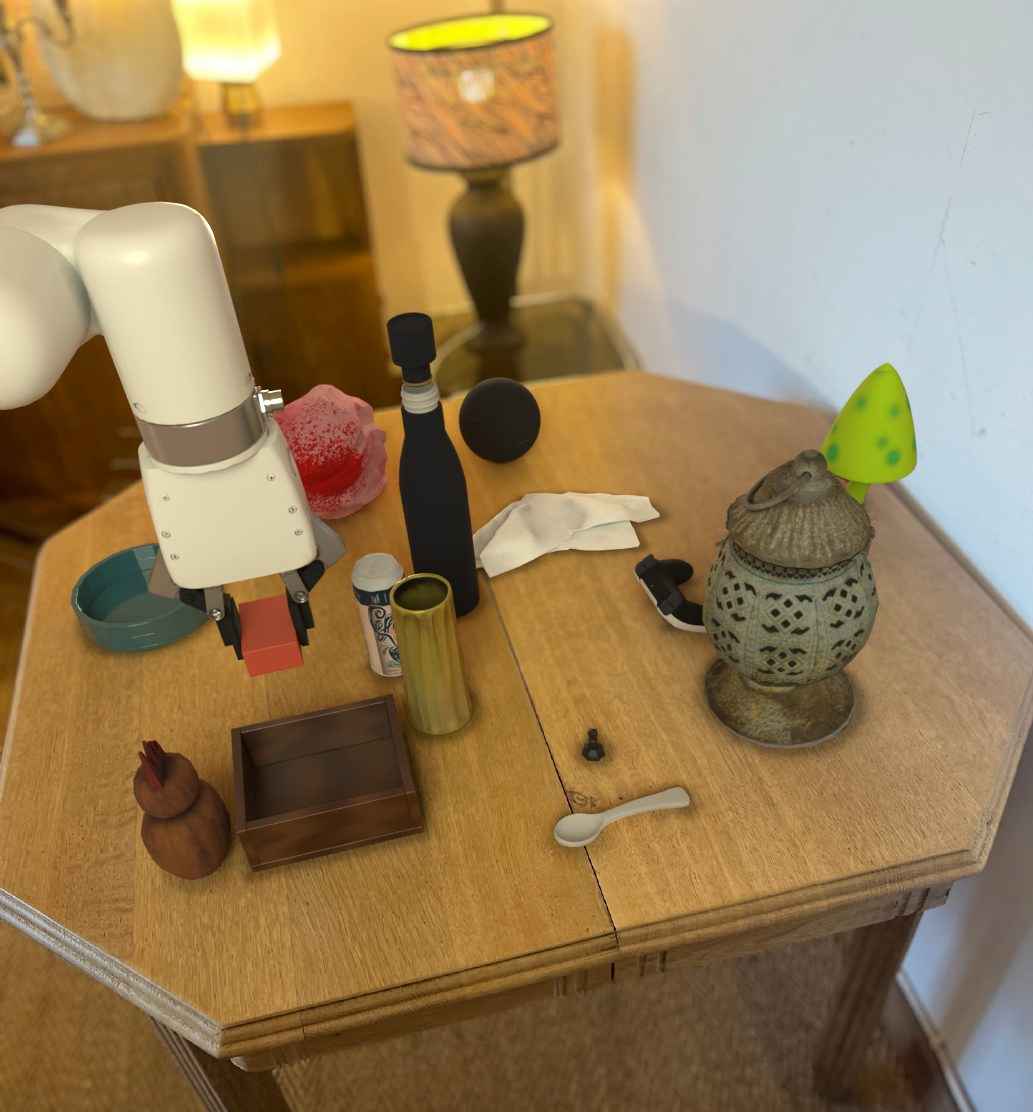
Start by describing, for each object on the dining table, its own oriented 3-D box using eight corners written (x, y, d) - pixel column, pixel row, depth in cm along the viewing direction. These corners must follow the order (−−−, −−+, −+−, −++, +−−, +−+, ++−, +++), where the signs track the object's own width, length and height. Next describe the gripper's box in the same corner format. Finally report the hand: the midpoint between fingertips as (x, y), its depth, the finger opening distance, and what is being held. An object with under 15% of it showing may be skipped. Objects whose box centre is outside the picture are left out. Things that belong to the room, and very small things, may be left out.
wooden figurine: (219, 896, 78) (158, 772, 67) (152, 888, 79) (82, 765, 68) (250, 829, 82) (198, 703, 72) (186, 822, 83) (126, 697, 73)
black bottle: (406, 607, 102) (355, 328, 82) (444, 574, 106) (404, 300, 85) (455, 627, 100) (414, 344, 79) (491, 593, 103) (462, 313, 82)
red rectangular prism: (304, 665, 73) (297, 641, 71) (250, 677, 72) (241, 653, 70) (297, 616, 77) (290, 592, 75) (246, 627, 76) (238, 603, 75)
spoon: (547, 831, 80) (547, 815, 79) (676, 791, 83) (679, 776, 82) (561, 858, 78) (562, 843, 77) (693, 817, 81) (696, 801, 80)
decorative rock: (409, 508, 106) (390, 365, 103) (275, 523, 103) (252, 376, 100) (390, 514, 124) (374, 392, 121) (276, 527, 121) (257, 402, 118)
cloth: (638, 478, 117) (638, 462, 116) (676, 543, 107) (677, 526, 106) (424, 516, 114) (421, 500, 113) (443, 586, 105) (440, 569, 103)
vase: (468, 684, 93) (452, 564, 83) (477, 730, 89) (461, 609, 79) (405, 695, 93) (381, 575, 83) (411, 741, 89) (386, 621, 79)
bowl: (78, 665, 99) (65, 639, 97) (88, 582, 109) (76, 557, 107) (219, 636, 101) (210, 610, 99) (216, 557, 111) (207, 532, 109)
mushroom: (829, 632, 95) (879, 395, 78) (778, 585, 101) (815, 354, 84) (899, 606, 97) (963, 370, 80) (846, 561, 103) (895, 332, 86)
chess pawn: (576, 753, 86) (575, 730, 84) (592, 740, 87) (591, 717, 85) (593, 764, 85) (593, 741, 83) (609, 751, 86) (609, 728, 84)
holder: (253, 872, 79) (235, 832, 76) (246, 769, 87) (230, 728, 84) (423, 832, 81) (415, 791, 77) (401, 734, 89) (392, 693, 86)
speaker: (456, 477, 120) (447, 402, 113) (470, 435, 127) (462, 362, 120) (537, 479, 118) (533, 403, 112) (546, 436, 126) (543, 362, 119)
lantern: (769, 775, 83) (812, 530, 66) (665, 681, 92) (678, 444, 75) (888, 706, 88) (957, 462, 70) (777, 623, 97) (814, 388, 79)
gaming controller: (663, 593, 105) (619, 567, 100) (692, 562, 103) (648, 535, 99) (707, 656, 97) (661, 631, 93) (738, 624, 95) (694, 597, 91)
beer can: (393, 687, 94) (372, 588, 85) (361, 666, 96) (337, 568, 88) (429, 660, 96) (412, 562, 88) (397, 641, 99) (377, 543, 90)
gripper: (328, 373, 65) (374, 589, 78) (70, 419, 63) (161, 634, 76) (341, 426, 60) (389, 649, 73) (60, 478, 58) (160, 699, 70)
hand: (272, 639), depth 74 cm, fingers closed on red rectangular prism, 4 cm apart
